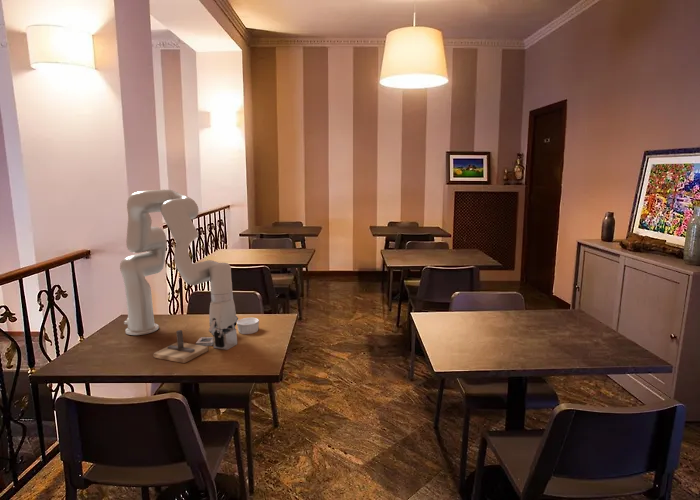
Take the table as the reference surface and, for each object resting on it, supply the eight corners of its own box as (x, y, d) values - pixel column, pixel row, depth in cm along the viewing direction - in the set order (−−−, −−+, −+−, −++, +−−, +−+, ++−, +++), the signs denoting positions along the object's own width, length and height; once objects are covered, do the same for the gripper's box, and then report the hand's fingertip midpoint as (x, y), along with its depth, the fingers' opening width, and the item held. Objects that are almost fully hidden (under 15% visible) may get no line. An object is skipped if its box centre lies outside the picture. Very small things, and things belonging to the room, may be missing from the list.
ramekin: (257, 334, 188) (256, 324, 188) (234, 335, 189) (234, 324, 188) (261, 327, 197) (261, 317, 196) (240, 327, 197) (239, 317, 197)
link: (213, 347, 175) (212, 332, 174) (224, 342, 181) (223, 327, 180) (226, 349, 173) (225, 334, 172) (237, 344, 178) (236, 328, 177)
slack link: (196, 346, 177) (195, 342, 177) (200, 340, 183) (200, 337, 183) (212, 345, 177) (211, 342, 177) (216, 339, 183) (216, 336, 183)
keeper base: (153, 357, 167) (151, 334, 166) (178, 345, 178) (176, 323, 177) (184, 363, 162) (182, 339, 160) (208, 350, 173) (206, 328, 171)
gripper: (228, 290, 183) (231, 335, 186) (197, 302, 167) (201, 350, 170) (244, 291, 180) (247, 337, 183) (214, 304, 164) (218, 353, 167)
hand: (225, 343), depth 177 cm, fingers closed on link, 6 cm apart
